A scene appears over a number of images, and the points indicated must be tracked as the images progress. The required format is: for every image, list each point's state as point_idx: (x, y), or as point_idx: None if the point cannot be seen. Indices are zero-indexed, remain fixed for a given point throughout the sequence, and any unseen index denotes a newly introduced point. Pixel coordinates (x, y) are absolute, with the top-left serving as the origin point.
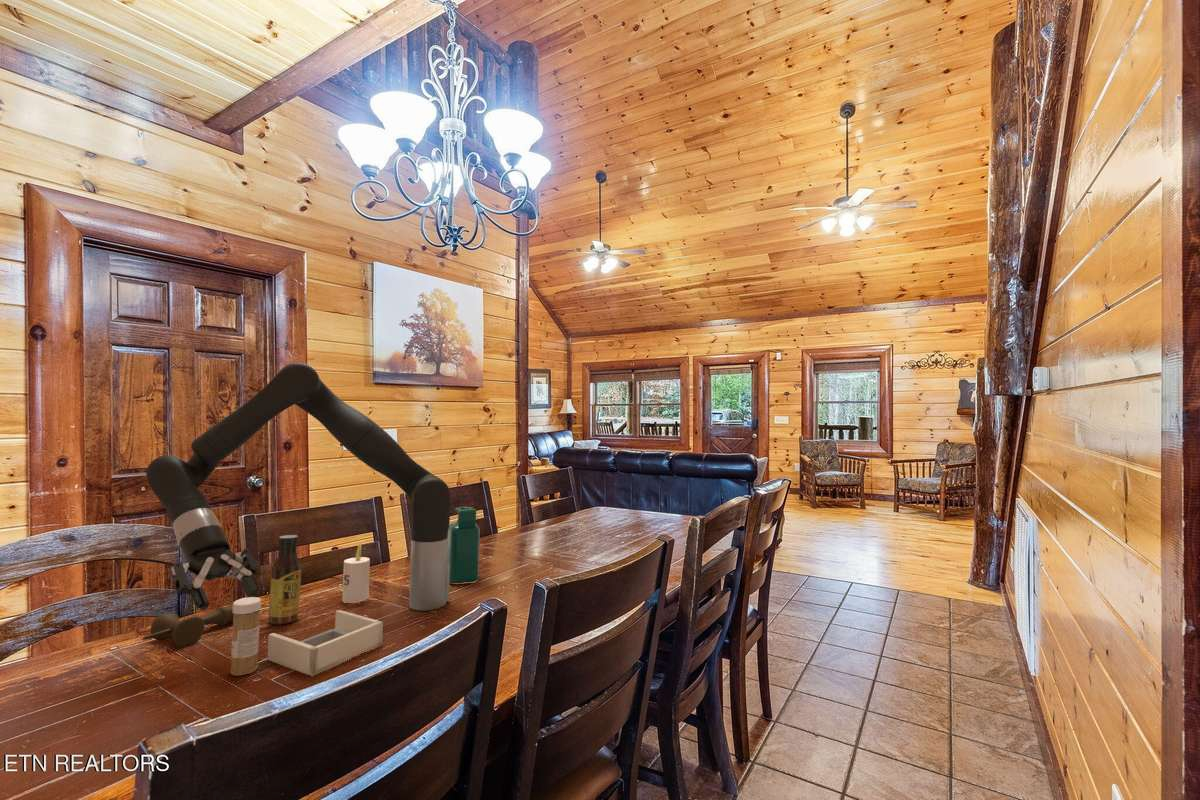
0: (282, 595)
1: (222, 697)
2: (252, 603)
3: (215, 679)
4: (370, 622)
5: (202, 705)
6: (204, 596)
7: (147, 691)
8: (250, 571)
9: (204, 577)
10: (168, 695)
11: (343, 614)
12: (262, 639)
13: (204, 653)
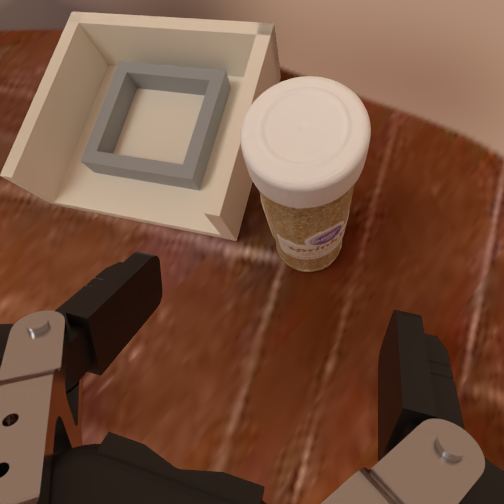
0: None
1: (432, 171)
2: (322, 77)
3: (370, 271)
4: (74, 43)
5: (481, 179)
6: (412, 347)
7: (499, 392)
8: (13, 330)
9: (368, 474)
10: (486, 308)
11: (28, 145)
12: (124, 373)
13: (250, 469)
